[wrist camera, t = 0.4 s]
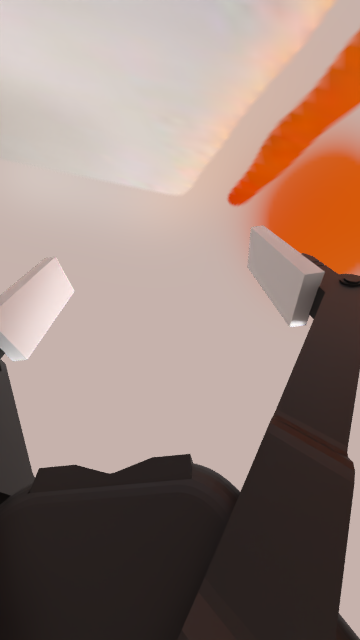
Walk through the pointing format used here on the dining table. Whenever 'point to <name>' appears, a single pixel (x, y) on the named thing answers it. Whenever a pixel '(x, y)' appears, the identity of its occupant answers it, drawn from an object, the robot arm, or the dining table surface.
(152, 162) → the dining table surface
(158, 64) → the dining table surface
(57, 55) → the dining table surface
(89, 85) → the dining table surface
